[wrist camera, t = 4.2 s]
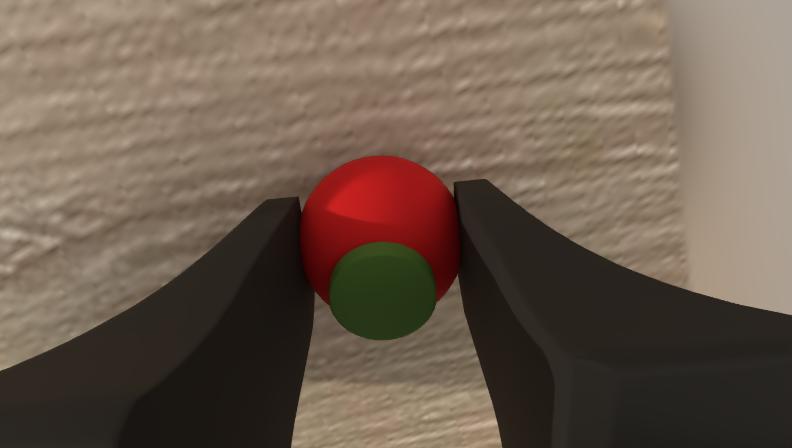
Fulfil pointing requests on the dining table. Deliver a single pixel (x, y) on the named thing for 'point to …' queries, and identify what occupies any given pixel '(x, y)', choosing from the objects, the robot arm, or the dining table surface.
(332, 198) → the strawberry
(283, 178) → the dining table surface
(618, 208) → the dining table surface
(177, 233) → the dining table surface
